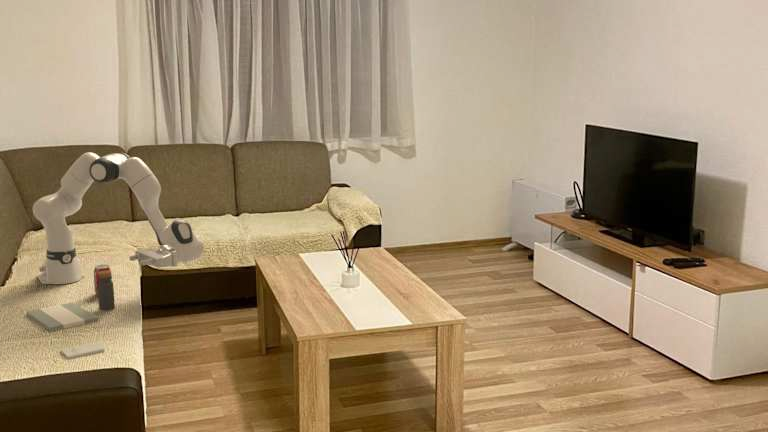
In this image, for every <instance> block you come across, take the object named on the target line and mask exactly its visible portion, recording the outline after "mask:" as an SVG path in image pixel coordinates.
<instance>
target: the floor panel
mask: <svg viewBox="0 0 768 432" xmlns="http://www.w3.org/2000/svg"><path fill="white" fill-rule="evenodd" d="M26 316H27V317H28V318H29V319H31V320H33V321H34V322H35V323H36V324H39V325H40V326H41V327H43V328H44V329H46V330H47V331H48V332H55V331H59V330H63V329H68V328H72V327H76V326H82V325H85V323H86V324H90V323H95V322H98V316H96V315H94V314H93V313H91V312H89V311H88V310H86V309H85V308H83V307H81V306H80V305H78V304H76V303H74V302H67V303H63V304H57V305H54V306H53V305H52V306H48V307H42V308H38V309H32V310H29V311H26ZM81 324H82V325H81Z"/></svg>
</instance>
